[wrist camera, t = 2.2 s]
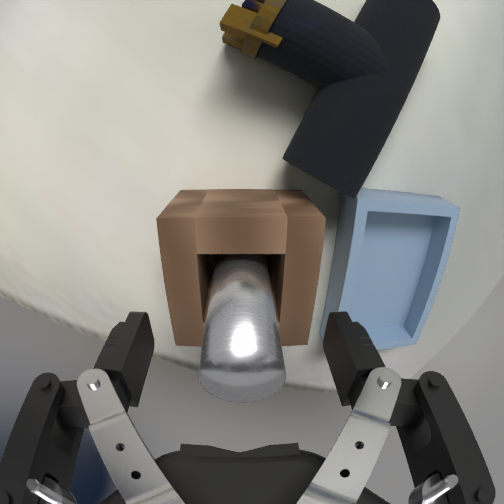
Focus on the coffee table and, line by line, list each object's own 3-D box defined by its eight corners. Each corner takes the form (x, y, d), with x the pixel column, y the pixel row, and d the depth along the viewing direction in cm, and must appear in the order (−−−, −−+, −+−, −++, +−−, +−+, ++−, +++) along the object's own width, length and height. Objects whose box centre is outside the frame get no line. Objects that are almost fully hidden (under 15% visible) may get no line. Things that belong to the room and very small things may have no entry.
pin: (263, 224, 20) (290, 347, 9) (262, 265, 21) (281, 401, 10) (217, 224, 20) (193, 348, 9) (219, 265, 21) (203, 401, 10)
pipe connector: (169, 112, 12) (296, -81, 6) (187, 115, 17) (283, -44, 11) (369, 208, 15) (455, 19, 9) (338, 186, 19) (414, 32, 14)
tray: (438, 196, 19) (460, 207, 17) (403, 324, 25) (416, 343, 22) (341, 186, 19) (358, 197, 16) (319, 332, 24) (327, 356, 22)
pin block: (301, 190, 19) (325, 218, 14) (292, 292, 22) (307, 344, 17) (180, 190, 19) (156, 218, 13) (189, 293, 22) (175, 345, 17)
